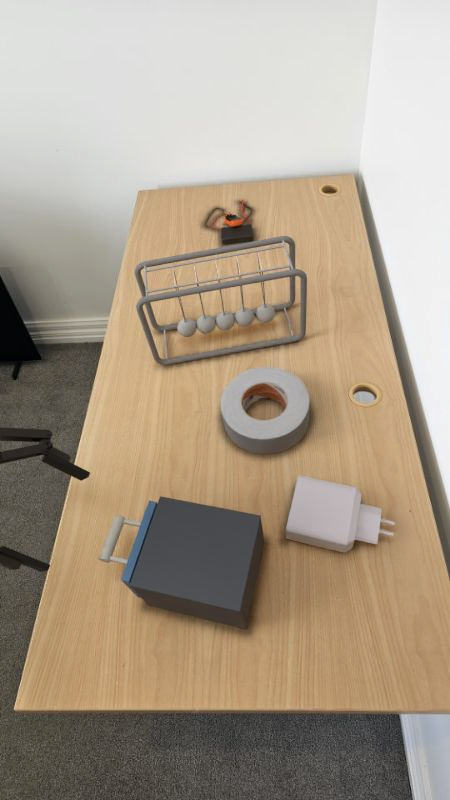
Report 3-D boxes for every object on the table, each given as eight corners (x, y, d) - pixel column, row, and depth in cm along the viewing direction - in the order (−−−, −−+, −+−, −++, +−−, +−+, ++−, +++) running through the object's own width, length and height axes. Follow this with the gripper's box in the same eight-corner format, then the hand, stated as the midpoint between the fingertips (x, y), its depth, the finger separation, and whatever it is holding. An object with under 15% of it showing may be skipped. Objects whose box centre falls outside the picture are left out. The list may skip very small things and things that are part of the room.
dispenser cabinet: (148, 605, 72) (129, 585, 64) (174, 524, 79) (159, 495, 71) (246, 630, 69) (239, 611, 60) (264, 542, 76) (260, 515, 67)
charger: (388, 565, 72) (285, 540, 76) (394, 507, 77) (298, 486, 80) (393, 554, 68) (285, 528, 72) (400, 493, 73) (298, 472, 77)
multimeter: (207, 202, 129) (205, 190, 127) (253, 198, 128) (252, 186, 125) (203, 246, 119) (200, 234, 116) (253, 243, 118) (252, 230, 115)
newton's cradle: (294, 304, 104) (294, 232, 90) (306, 341, 98) (308, 269, 84) (153, 330, 105) (131, 262, 90) (156, 368, 99) (132, 301, 84)
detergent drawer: (106, 589, 73) (86, 571, 66) (132, 517, 80) (116, 494, 73) (227, 619, 69) (219, 603, 62) (245, 540, 75) (240, 518, 68)
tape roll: (207, 409, 91) (203, 393, 87) (275, 369, 95) (274, 352, 91) (255, 470, 83) (253, 456, 79) (327, 424, 87) (329, 408, 82)
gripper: (-42, 380, 70) (90, 449, 79) (-157, 552, 57) (17, 613, 66) (-29, 360, 65) (110, 437, 74) (-154, 545, 51) (35, 612, 60)
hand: (67, 520), depth 70 cm, fingers open, 13 cm apart
